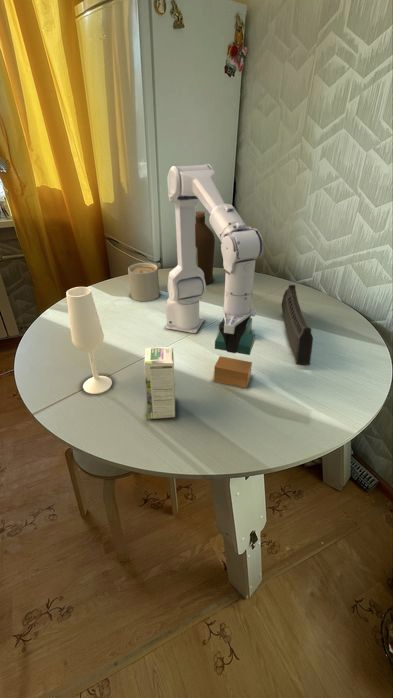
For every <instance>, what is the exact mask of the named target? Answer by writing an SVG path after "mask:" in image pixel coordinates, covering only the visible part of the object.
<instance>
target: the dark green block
mask: <svg viewBox="0 0 393 698" xmlns="http://www.w3.org/2000/svg"><path fill="white" fill-rule="evenodd" d="M220 322H225V320H224V317H222V320H221V321H220ZM251 325H252V326H253V317H250V318H249V320H248V322H247V325H246V330H245V332H244V333H249V330H250V328H251V329H252V327H251Z"/></svg>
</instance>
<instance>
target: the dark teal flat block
mask: <svg viewBox="0 0 393 698" xmlns="http://www.w3.org/2000/svg"><path fill="white" fill-rule="evenodd" d="M255 337H256V334H254V333H250V334H248V333H244V334H243V335H242V336H241V339H240V342H239V346H238V349H237V352H236V353H235V354H242V355H246V356H250V355H251V353H252V350H253V347H254V345H255V340H256V339H255ZM214 349H215V350H219V351H225V352H227V350H226V346H225V341H224V338H223V336H222V334H221V332H220V331H219V332H218V334H217V336H216V338H215V339H214Z"/></svg>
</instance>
